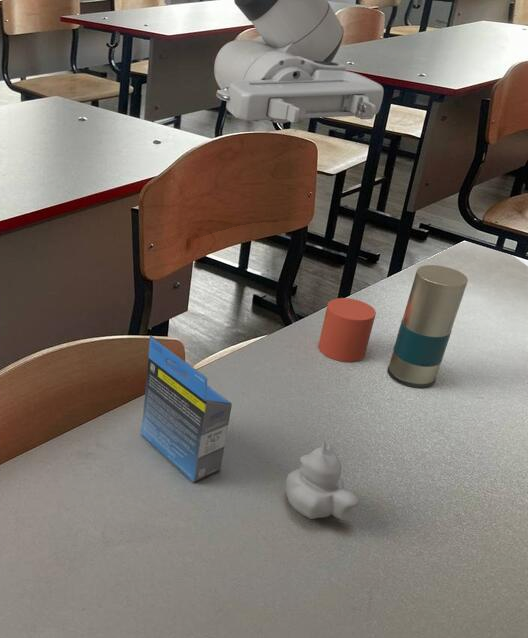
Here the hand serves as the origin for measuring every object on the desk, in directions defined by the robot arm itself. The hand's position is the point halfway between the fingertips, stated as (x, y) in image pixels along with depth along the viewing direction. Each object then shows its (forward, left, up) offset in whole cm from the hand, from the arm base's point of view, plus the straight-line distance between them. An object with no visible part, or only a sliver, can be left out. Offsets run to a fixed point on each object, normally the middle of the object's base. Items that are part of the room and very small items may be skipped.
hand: (335, 114), depth 93 cm
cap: (-2, +12, -27) cm, 29 cm away
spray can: (-8, +18, -27) cm, 33 cm away
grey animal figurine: (+12, +40, -27) cm, 50 cm away
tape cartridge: (+23, +31, -27) cm, 47 cm away
